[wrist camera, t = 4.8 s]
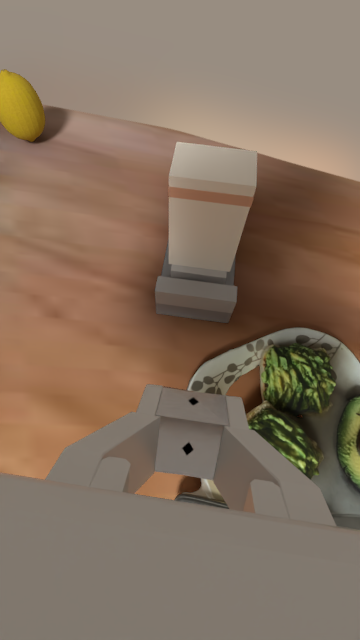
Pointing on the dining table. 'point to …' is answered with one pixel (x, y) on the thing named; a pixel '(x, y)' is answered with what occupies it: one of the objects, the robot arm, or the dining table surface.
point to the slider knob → (208, 209)
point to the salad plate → (298, 411)
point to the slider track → (192, 311)
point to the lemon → (20, 107)
